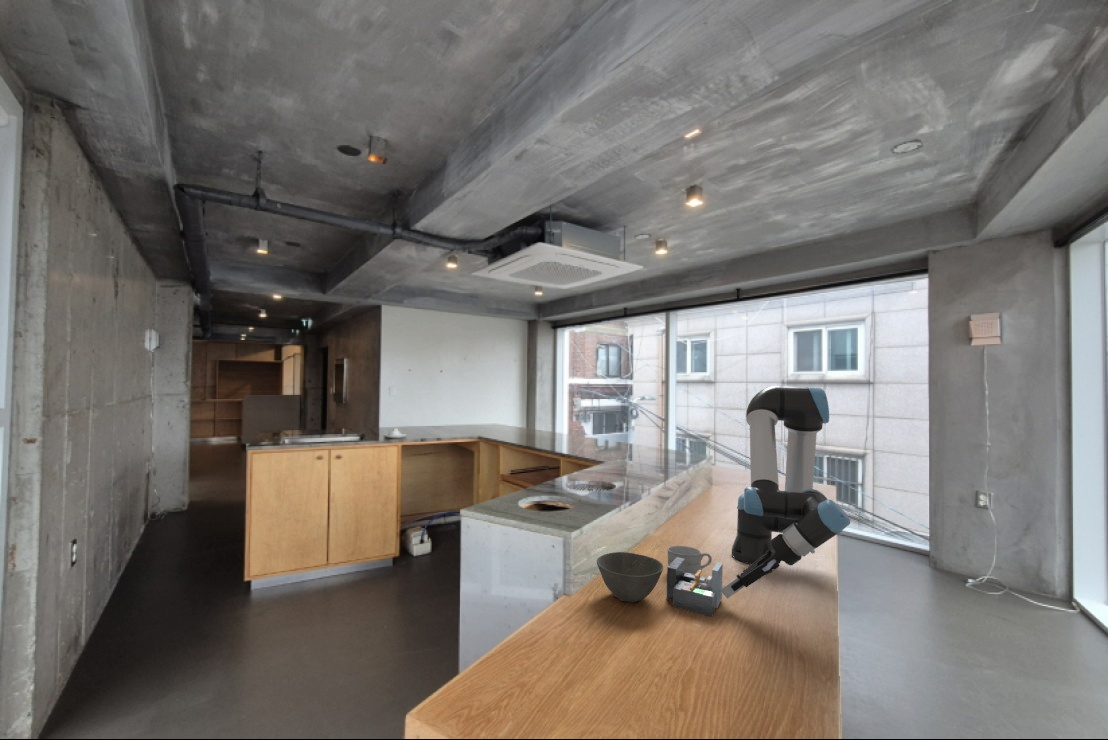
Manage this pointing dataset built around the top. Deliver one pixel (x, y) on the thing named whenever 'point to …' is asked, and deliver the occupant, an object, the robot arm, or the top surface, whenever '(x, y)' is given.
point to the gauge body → (688, 590)
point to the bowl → (629, 574)
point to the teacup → (688, 558)
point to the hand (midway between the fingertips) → (724, 593)
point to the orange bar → (696, 579)
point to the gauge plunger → (714, 583)
